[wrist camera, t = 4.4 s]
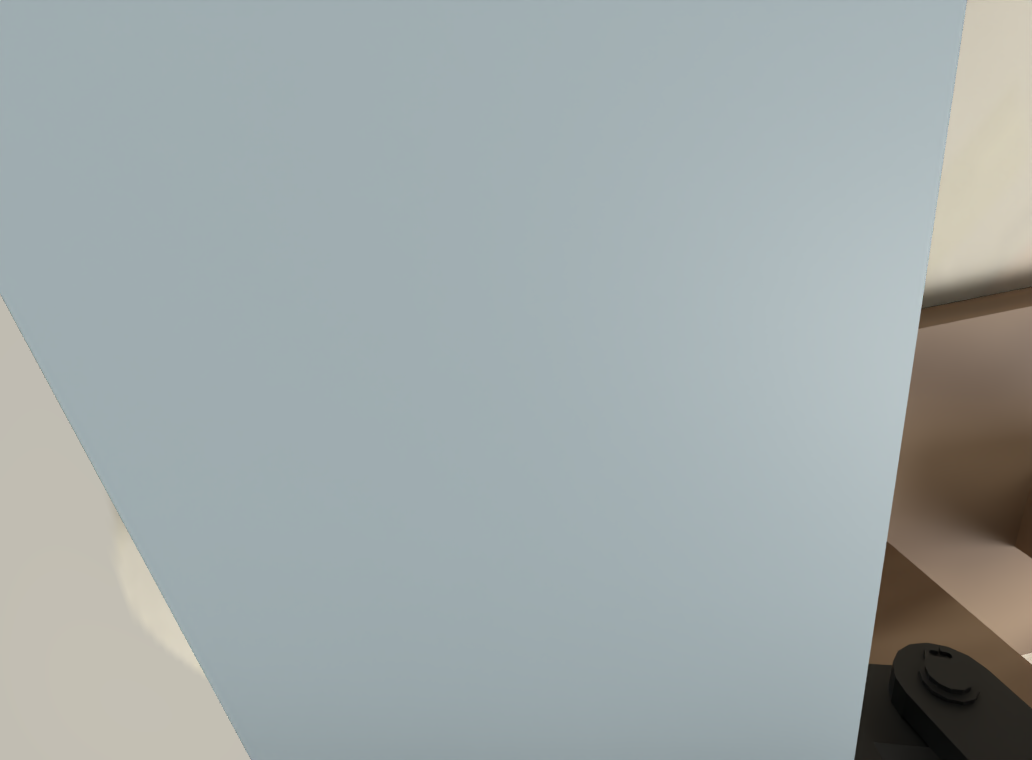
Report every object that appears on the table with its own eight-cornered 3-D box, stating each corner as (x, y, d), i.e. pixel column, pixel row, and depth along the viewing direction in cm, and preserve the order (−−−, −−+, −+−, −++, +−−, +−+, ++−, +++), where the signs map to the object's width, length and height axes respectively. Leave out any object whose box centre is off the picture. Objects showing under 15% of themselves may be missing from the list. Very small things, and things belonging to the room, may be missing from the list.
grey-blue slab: (326, 63, 11) (-478, -601, 1) (517, 34, 12) (1070, -698, 2) (444, 530, 16) (466, 1160, 6) (577, 502, 16) (809, 1059, 6)
